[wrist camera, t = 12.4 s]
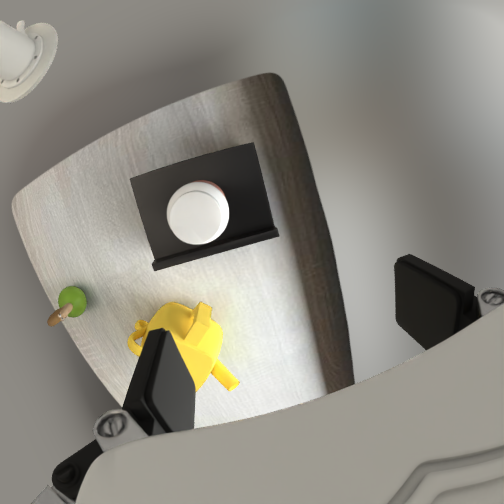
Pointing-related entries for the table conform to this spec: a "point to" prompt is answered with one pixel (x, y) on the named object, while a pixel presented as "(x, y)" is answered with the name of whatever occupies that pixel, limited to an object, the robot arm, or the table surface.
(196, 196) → the pill bottle
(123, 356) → the table surface
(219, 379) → the teapot
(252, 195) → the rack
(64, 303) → the snail figurine
